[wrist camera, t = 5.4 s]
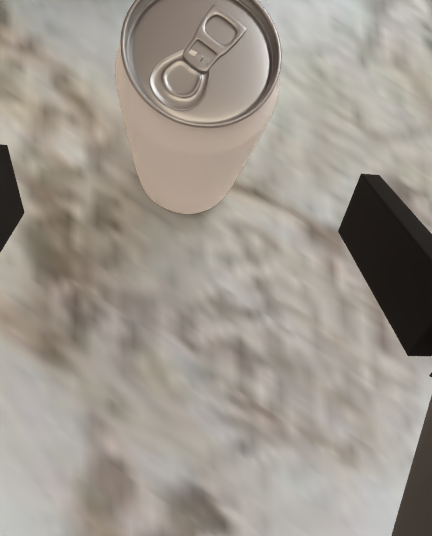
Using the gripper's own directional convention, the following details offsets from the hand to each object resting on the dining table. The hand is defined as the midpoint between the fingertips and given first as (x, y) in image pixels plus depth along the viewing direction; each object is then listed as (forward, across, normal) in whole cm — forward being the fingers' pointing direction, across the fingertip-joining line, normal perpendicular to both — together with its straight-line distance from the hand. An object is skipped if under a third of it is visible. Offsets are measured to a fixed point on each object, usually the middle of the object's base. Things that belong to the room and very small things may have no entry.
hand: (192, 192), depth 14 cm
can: (+10, 0, -4) cm, 11 cm away
